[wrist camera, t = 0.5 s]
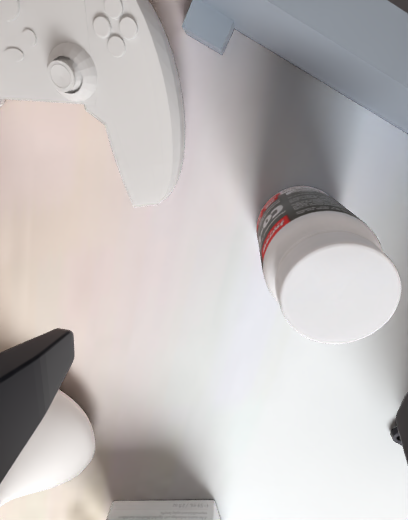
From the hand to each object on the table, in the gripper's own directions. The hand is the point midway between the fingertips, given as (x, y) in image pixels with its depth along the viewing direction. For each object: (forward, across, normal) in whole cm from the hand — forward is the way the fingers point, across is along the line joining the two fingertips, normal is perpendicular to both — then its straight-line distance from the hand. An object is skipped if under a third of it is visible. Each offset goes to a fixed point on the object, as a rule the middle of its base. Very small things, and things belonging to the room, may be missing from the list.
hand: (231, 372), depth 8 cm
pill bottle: (+12, -3, -1) cm, 12 cm away
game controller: (+12, +11, -6) cm, 17 cm away
